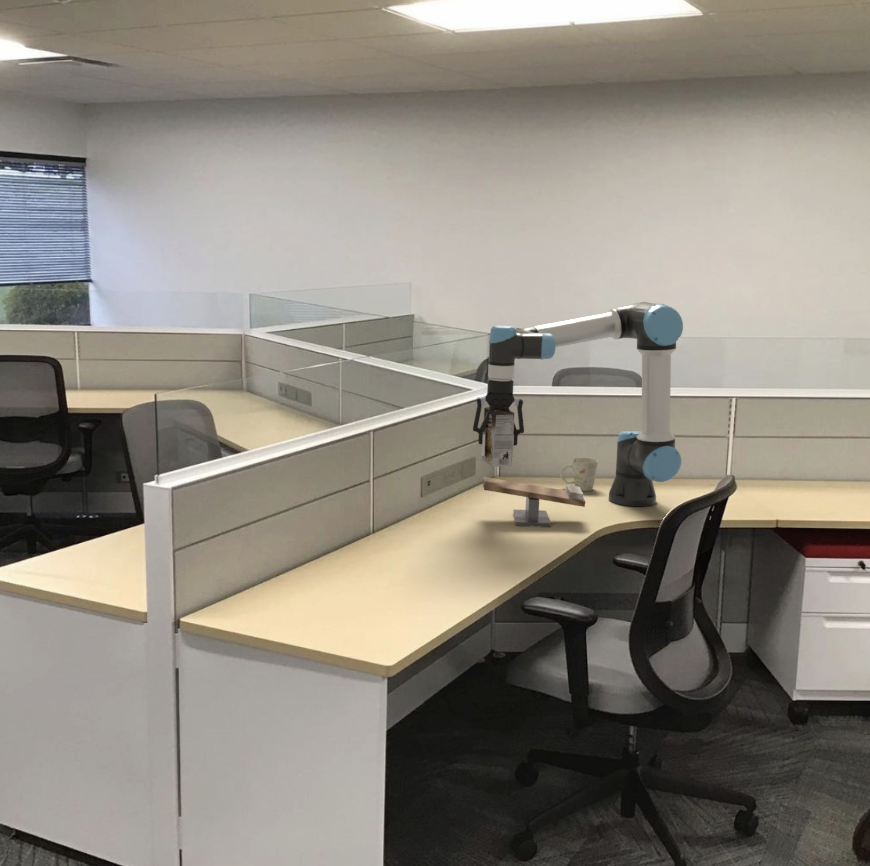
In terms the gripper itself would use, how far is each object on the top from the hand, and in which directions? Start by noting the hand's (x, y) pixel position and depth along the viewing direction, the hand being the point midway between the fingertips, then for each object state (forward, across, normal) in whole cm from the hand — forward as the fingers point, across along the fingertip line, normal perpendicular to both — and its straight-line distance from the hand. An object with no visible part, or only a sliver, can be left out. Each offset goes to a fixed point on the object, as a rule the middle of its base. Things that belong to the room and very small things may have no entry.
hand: (497, 455), depth 297 cm
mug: (+19, -30, -41) cm, 55 cm away
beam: (+11, -11, 0) cm, 16 cm away
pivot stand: (+19, -11, 0) cm, 22 cm away
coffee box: (+3, 0, 0) cm, 3 cm away
